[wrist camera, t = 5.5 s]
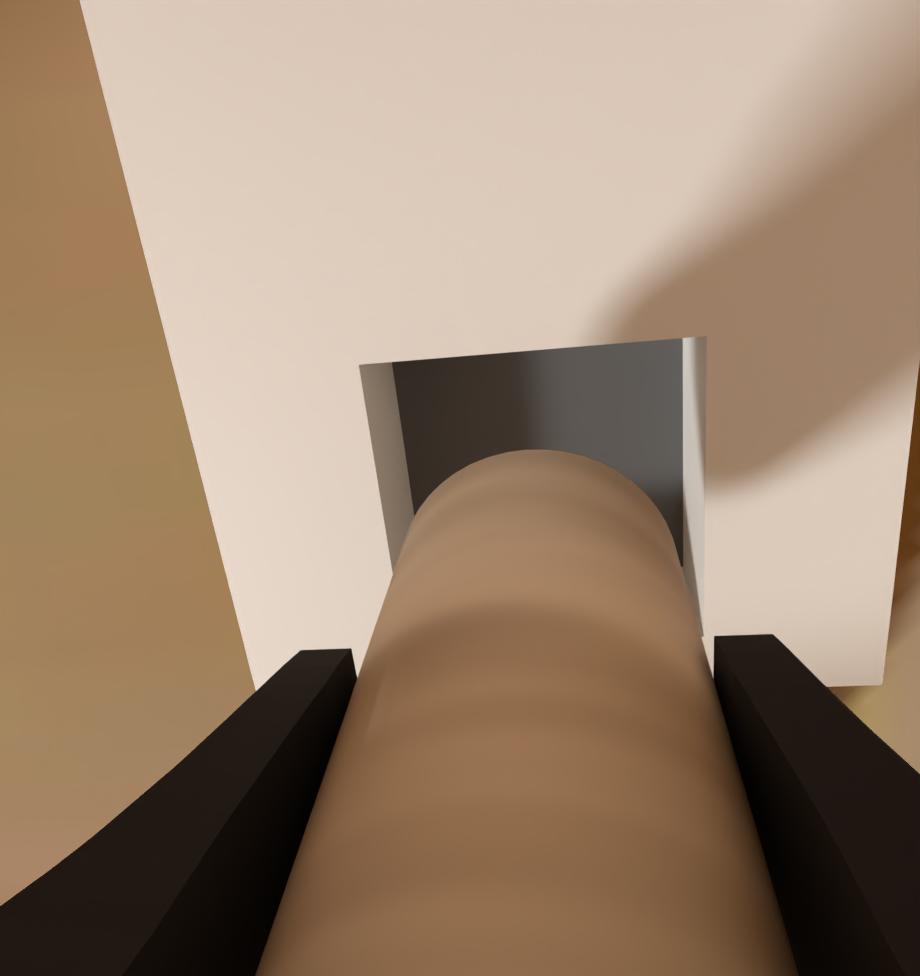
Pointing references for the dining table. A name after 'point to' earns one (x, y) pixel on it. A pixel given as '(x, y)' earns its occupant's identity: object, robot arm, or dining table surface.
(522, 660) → the peg
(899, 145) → the socket block
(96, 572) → the dining table surface
